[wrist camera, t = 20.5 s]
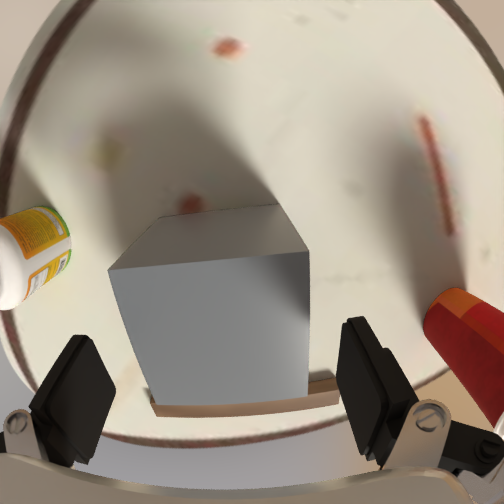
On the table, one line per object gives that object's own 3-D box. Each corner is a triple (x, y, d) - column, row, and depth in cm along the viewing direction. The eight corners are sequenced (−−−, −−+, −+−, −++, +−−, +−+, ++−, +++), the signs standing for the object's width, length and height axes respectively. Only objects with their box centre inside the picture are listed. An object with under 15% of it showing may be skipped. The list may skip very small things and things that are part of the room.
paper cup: (432, 360, 24) (507, 453, 11) (398, 325, 22) (495, 440, 9) (481, 303, 23) (572, 375, 9) (456, 257, 21) (578, 332, 8)
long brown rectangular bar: (155, 383, 24) (149, 402, 22) (333, 369, 24) (340, 389, 22) (161, 397, 25) (156, 416, 22) (331, 384, 25) (338, 403, 22)
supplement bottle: (22, 204, 18) (-65, 235, 9) (73, 203, 18) (-18, 237, 9) (29, 269, 19) (-45, 322, 10) (79, 274, 20) (6, 340, 11)
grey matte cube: (161, 215, 19) (107, 270, 11) (279, 203, 19) (309, 250, 11) (182, 316, 22) (156, 404, 13) (285, 307, 22) (307, 396, 13)
